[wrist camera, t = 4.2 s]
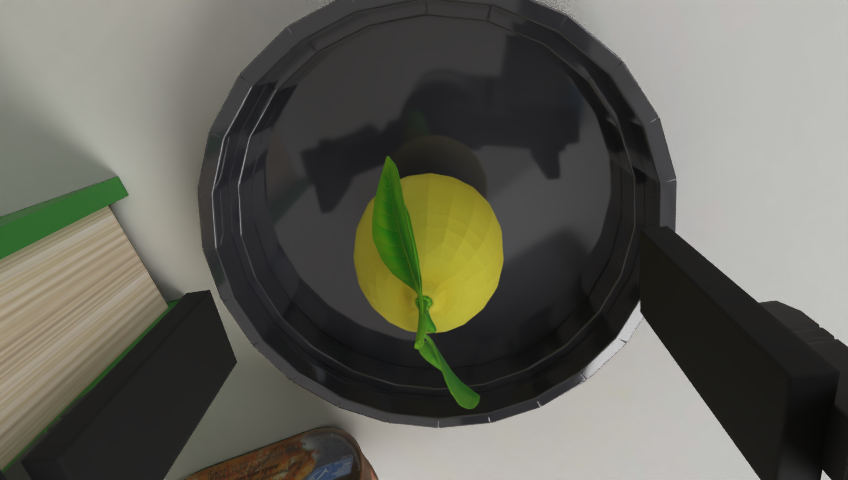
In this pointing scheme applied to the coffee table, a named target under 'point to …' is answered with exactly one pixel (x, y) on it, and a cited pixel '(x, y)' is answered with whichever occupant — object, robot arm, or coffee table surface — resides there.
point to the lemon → (428, 259)
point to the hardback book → (65, 307)
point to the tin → (298, 460)
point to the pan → (445, 155)
